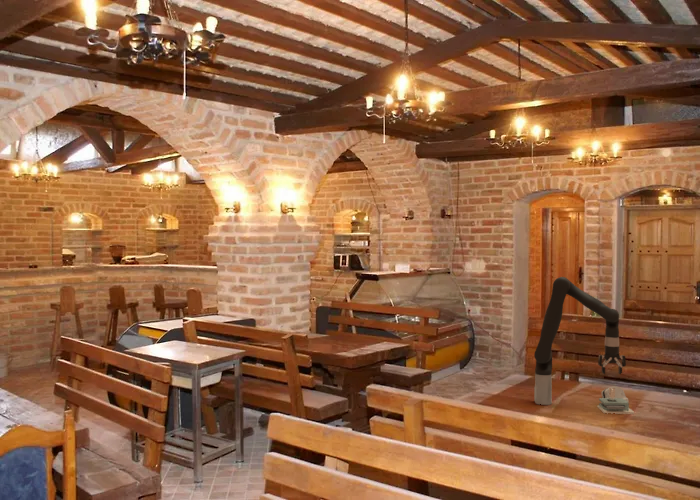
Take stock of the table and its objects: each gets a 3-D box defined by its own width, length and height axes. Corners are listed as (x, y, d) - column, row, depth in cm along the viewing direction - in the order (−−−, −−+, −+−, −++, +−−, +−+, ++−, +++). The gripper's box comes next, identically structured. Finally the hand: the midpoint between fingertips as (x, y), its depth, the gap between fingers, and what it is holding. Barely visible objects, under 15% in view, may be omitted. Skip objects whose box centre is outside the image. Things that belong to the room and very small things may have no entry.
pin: (610, 408, 356) (610, 389, 355) (608, 407, 359) (608, 387, 358) (615, 408, 355) (615, 389, 355) (613, 407, 358) (614, 387, 358)
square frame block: (604, 413, 350) (604, 404, 349) (597, 407, 363) (597, 398, 362) (634, 413, 348) (634, 404, 348) (626, 407, 361) (626, 398, 361)
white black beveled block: (610, 405, 365) (605, 388, 368) (603, 406, 369) (598, 389, 372) (629, 401, 374) (624, 384, 376) (622, 402, 378) (617, 385, 380)
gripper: (600, 345, 353) (600, 375, 353) (627, 346, 352) (627, 375, 352) (596, 343, 360) (596, 372, 361) (622, 343, 359) (622, 372, 360)
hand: (611, 373), depth 356 cm, fingers open, 8 cm apart
